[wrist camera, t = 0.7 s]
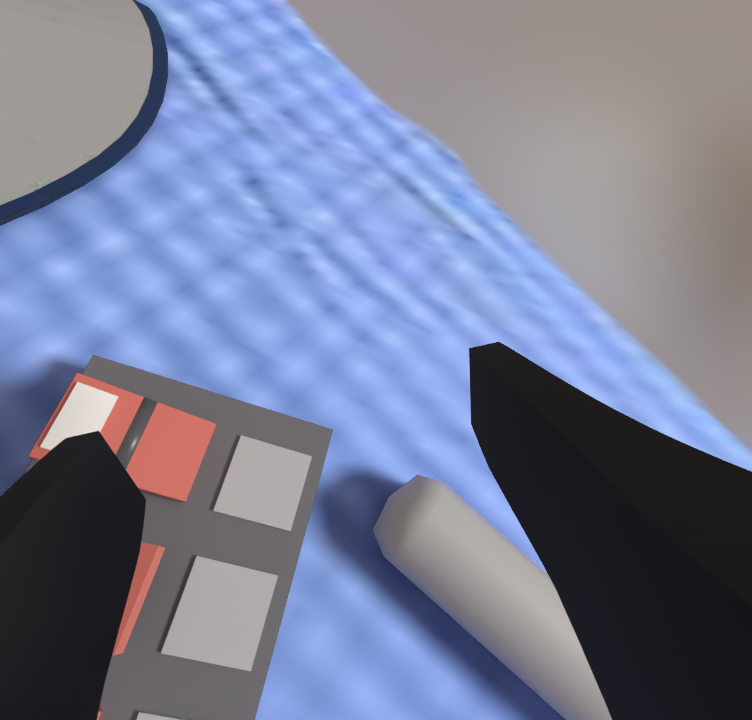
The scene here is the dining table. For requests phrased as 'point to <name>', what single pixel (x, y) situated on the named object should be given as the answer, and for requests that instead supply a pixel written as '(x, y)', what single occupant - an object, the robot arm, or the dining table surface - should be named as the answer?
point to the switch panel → (215, 558)
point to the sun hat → (73, 93)
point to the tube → (489, 592)
